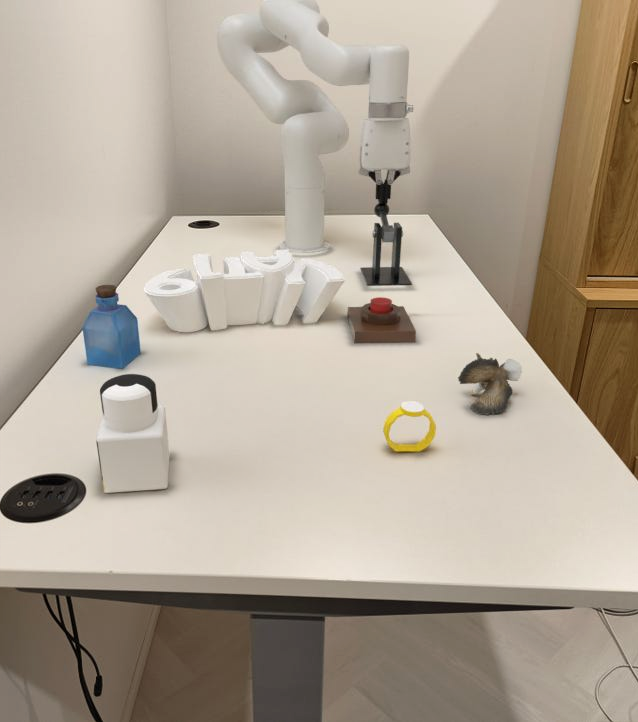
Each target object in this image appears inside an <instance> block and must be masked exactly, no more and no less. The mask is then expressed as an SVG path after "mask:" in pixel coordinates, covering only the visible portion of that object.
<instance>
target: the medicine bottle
mask: <svg viewBox="0 0 638 722" xmlns="http://www.w3.org/2000/svg"><path fill="white" fill-rule="evenodd" d="M99 397H100V403H101V411H102V415H101V420H100V423H99V427H98V431H97V435H96V439H95V442H96V448H97V455H98V456H97V457H98V463H99V469H100V476H101V477H100V478H101V484H102V490H103V492H104V493H105V494H110V493H111V494H112V493H125V492H139V491H153V490H154V491H155V490H156V491H157V490H165V489H167V488H168V485H169V472H170V471H169V469H170V444H169V433H168V425H167V414H166V406H165V405H163V404H158V395H157V385H156V382H155V380H153V379H152V378H151V377H149V376H147V375H143V374H137V373H126V374H125V373H124V374H121V375H118V376H114V377H111V378H110V379H107V380H106V381H105V382H103V384H102V385H101V386H100V388H99Z"/></svg>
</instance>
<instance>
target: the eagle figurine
mask: <svg viewBox="0 0 638 722" xmlns="http://www.w3.org/2000/svg"><path fill="white" fill-rule="evenodd" d="M475 356H476V359H474V360H472V361H471V362H469V363H467V364H466V365H465V367H463V369H462V371H461V372H460V374H459V376H458V377H457V380H458V382H459V384H460V385H468V384H471V385H472V384H473V385H475V384H476V385H475V387H473V388H472V391H471V393H470V395H471V396H473V395H477V394H479V393H481V392H482V391H483V392H482V393H481V394H480V396H479V397H477V399H476V400H475V401H474V402H472V403H471V405H470V406H469V407H470V408H471V409H472V411H473V412H475V414H476V415H477V414H478V415H487V416H488V415H490V414H492V415H495V414H498V413H500V412H502V411H504V410H505V408H506V407H507V405H508V403H509V400H510V398H511V397H513V389H512V386H511V385H510V383H509V381H511V382H518V381H519V380H520V378H521V376H522V373H523V370H522V365H521V364H520V363H519V362H518V361H516V360H515V359H513V358H508V359H506V361H505V362H503V363H502V364H501V365H500V364H499V361H498V359H497V358H493V357H489V358H483V357H482V356H481V354H480V353H479V352H476V353H475Z"/></svg>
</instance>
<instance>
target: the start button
mask: <svg viewBox="0 0 638 722" xmlns="http://www.w3.org/2000/svg"><path fill="white" fill-rule="evenodd" d="M369 303H370V311H373V312H377V313H387V312H391V309H392V304H393V300H392V299H390V298H389V297H383V296H381V297H380V296H379V297H373V298H371V299H370V302H369Z"/></svg>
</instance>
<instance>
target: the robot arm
mask: <svg viewBox="0 0 638 722" xmlns="http://www.w3.org/2000/svg"><path fill="white" fill-rule="evenodd" d="M258 10H259V11H258V13H245V12H243V13H236V14H232V15H229V16H228V17H226V18H224V19H223V20H222V22H221V23H220V24H219V26H218V29H217V37H216V38H217V39H216V40H217V41H216V42H217V48H218V53H219V57H220V59H221V61H222V64H223V65H224V67H225V69H226V70H227V71H228V73H229V74H230V75H231V76H232V77H233V79H234V80H236V82H238V84H239V85H240V86H241V87H242V88H243V89H244V90H245V92H246V93H247V94H248V96H249V97H250V99H251V100H252V101H253V102H254V103H255V105H256V106H257V107H258V109H259V110H260V111H261V112H262V114H263V115H264V116H265V117H266V119H267V120H268V121H270V122H272V123H273V124H276V125H281V128H280V132H279V142H280V148H281V153H282V159H283V170H284V241H282V242H280V243H279V244H278V250H288V251H289V252H290V253H294V254H315V253H319V252H324V251H327V250H329V249H330V248H331V244H330V243H329V242H328V241H326V240H325V204H326V203H325V202H326V201H325V199H326V198H325V195H326V175H325V169H324V167H323V164H322V162H321V159H320V156H321V155H328V154H333V153H336V152H340V151H341V150H342V149H343V148H344V147H345V146H346V145H347V143H348V142H349V141H348V140H349V137H350V129H349V124H348V122H347V120H346V117H345V116H344V115H343V113H342V112H341V111H340V110H339V108H338V107H337V106H336V105H335V104H334V102H333V101H332V100H331V98H330V97H329V96H328V95H327V94H326V93H325V91H323V89H322V88H321V87H320V86H319V85H318V84H316V83H315V82H313V81H311V80H307V79H294V80H293V79H292V80H290V79H286V78H284V76H282V74H281V73H279V72H278V70H277V69H276V67H275V66H274V65H273V64H272V63H271V62H270V61H268V60H267V59H265V58H264V57H263V56H261V55H259V54H265V53H266V54H269V53H276V52H279V51H281V50H283V49H286V48H288V47H289V46H290V47H292V48H293V49H294V50H296V51H297V52H299V53H300V57H301V59H302V62H303V64H304V66H305V67H306V68H307V70H308V71H310V72H311V73H312V74H314V75H315V76H316V77H318V78H320V79H321V80H322V81H324V82H326V83H327V84H330V85H333V86H337V87H347V86H364V85H366V86H367V85H369V87H368V88H369V89H368V113H367V114H368V115H367V118H364V120H363V124H362V129H361V135H360V147H359V168H358V174H359V175H360V176H363V177H367V178H368V177H369V178H371V180H372V181H373V182H374V183H375V200H377V202H378V203H380V204H382V203H385V204H387V205H388V201H389V200H391V196H392V195H391V194H392V185H393V183H394V182H395V181H396V180H397V179H398V178H399V177H400V176H406V175H409V174H410V173H411V168H410V164H411V128H410V119H409V118H408V117H407V115H408V114H409V113H413V112H414V105H413V104H412V105H411V104H408V102H407V100H408V99H407V98H408V81H409V67H410V65H409V64H410V51H409V48H408V46H406V45H403V44H386V45H385V44H384V45H383V44H382V45H372V44H351V45H350V44H348V45H347V44H345V45H341V44H338V43H336V42H335V41H333V40H331V39H330V38H328V37H329V32H330V25H329V21H328V20H327V18H326V17H325V16H324V15H323V14H321V10H320V6H319V4H318V2H317V1H316V0H262V2H261V3H260V6H259V9H258ZM384 170H385V171H386V174H385V175H386V176H385V179H384V181H383V180H382V179H383V178H382V171H384Z"/></svg>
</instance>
